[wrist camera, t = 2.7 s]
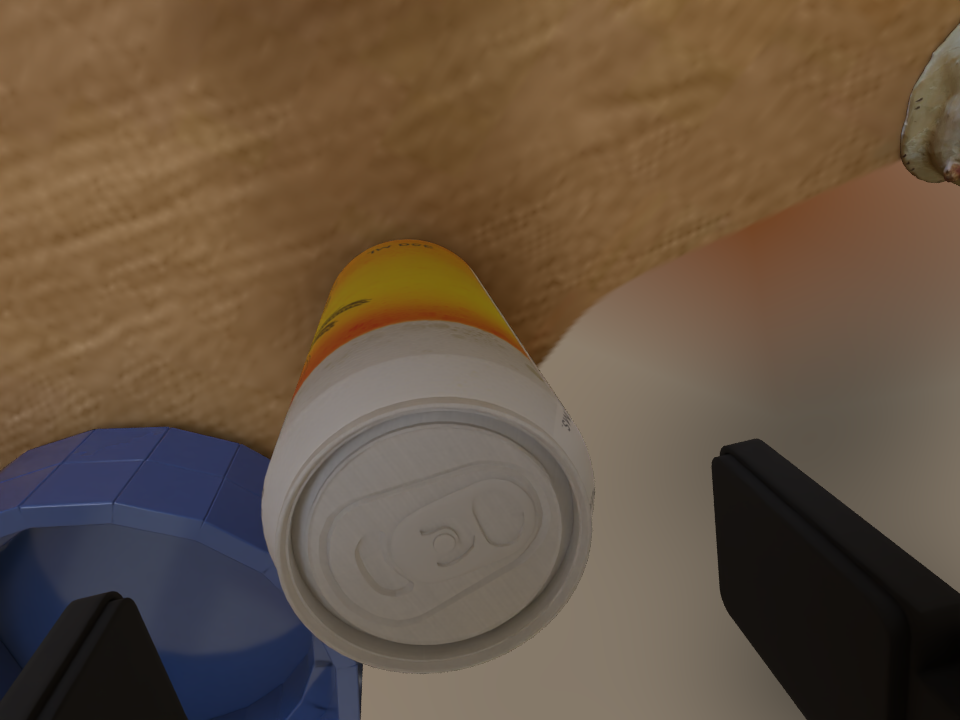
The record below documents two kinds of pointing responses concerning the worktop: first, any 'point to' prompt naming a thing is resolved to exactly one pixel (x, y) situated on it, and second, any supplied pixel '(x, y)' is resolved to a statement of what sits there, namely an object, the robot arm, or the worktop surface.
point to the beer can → (424, 473)
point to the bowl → (165, 569)
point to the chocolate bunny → (935, 118)
